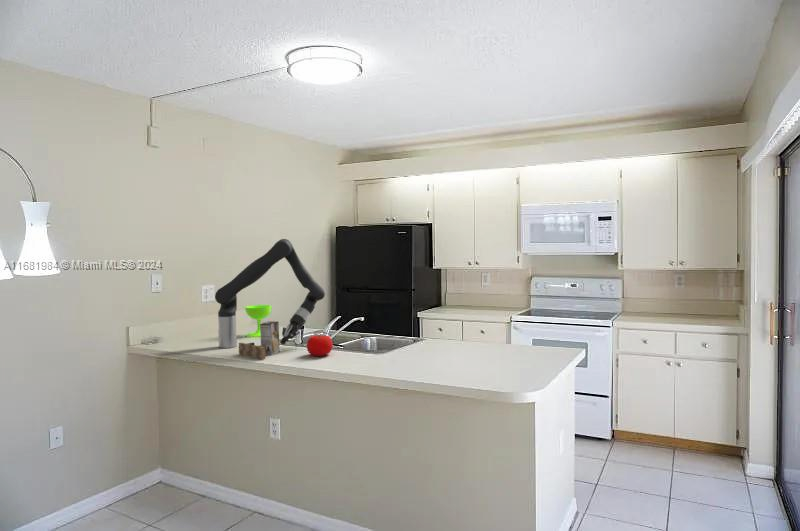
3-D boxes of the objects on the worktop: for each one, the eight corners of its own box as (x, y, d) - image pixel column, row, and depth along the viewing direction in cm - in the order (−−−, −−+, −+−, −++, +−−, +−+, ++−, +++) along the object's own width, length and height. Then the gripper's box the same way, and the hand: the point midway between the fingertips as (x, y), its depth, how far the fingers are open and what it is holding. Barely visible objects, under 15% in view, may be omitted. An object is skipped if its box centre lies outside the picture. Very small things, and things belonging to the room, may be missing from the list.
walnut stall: (239, 354, 293) (238, 342, 292) (247, 352, 296) (247, 341, 296) (263, 359, 277) (262, 347, 277) (272, 358, 281) (271, 345, 281)
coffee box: (268, 351, 299) (267, 321, 298) (280, 351, 297) (278, 321, 297) (260, 355, 290) (259, 323, 289) (272, 355, 288) (271, 323, 288)
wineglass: (277, 333, 357) (276, 305, 357) (261, 338, 343) (260, 308, 342) (257, 332, 364) (256, 304, 363) (240, 336, 349) (239, 307, 349)
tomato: (306, 353, 291) (305, 333, 291) (331, 351, 294) (331, 331, 293) (307, 358, 277) (307, 337, 277) (334, 357, 280) (333, 336, 279)
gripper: (288, 312, 310) (270, 338, 301) (303, 314, 301) (284, 340, 292) (296, 321, 314) (278, 346, 305) (311, 323, 305) (293, 349, 296)
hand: (281, 343), depth 299 cm, fingers closed
